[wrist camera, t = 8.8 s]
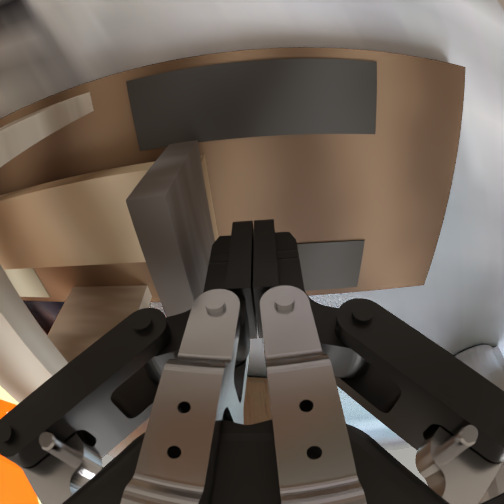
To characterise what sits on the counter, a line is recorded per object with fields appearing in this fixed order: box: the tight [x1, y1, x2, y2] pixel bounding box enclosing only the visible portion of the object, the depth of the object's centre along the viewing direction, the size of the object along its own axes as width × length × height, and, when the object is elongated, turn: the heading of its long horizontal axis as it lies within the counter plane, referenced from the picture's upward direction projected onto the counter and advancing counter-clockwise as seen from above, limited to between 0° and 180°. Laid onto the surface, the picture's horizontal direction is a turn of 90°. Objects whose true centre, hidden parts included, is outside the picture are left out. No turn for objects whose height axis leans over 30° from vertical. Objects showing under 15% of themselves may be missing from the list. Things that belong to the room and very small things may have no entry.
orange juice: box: [0, 386, 41, 504], centre depth 20 cm, size 8×9×20 cm
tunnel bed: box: [0, 47, 465, 403], centre depth 13 cm, size 42×14×11 cm, turn 95°
